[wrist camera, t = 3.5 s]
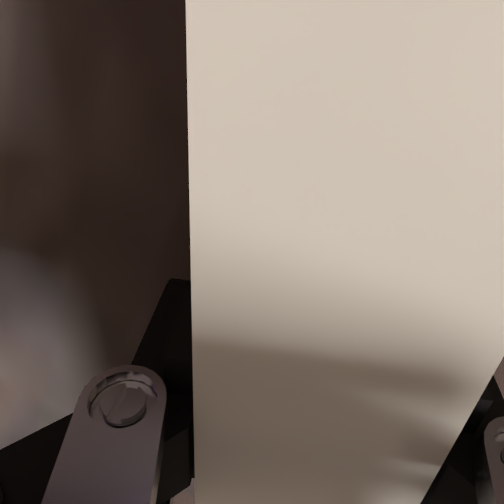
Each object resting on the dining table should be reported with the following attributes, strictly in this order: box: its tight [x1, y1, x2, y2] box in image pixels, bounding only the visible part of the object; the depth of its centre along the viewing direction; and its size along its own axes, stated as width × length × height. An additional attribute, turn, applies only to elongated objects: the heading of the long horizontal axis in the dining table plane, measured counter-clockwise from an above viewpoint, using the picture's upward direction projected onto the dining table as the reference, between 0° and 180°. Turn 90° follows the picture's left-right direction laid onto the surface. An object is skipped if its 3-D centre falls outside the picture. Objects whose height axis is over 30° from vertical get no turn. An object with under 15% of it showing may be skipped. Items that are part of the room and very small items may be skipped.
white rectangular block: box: [186, 0, 504, 504], centre depth 9 cm, size 16×4×5 cm, turn 176°
